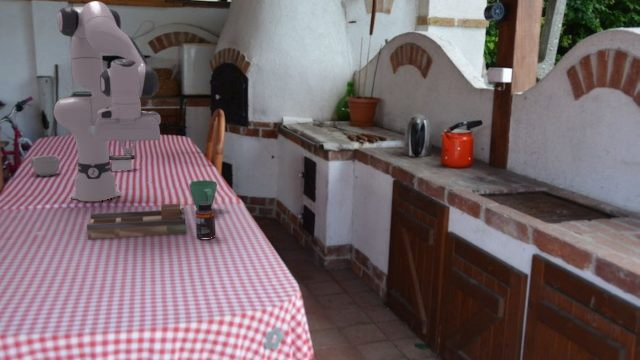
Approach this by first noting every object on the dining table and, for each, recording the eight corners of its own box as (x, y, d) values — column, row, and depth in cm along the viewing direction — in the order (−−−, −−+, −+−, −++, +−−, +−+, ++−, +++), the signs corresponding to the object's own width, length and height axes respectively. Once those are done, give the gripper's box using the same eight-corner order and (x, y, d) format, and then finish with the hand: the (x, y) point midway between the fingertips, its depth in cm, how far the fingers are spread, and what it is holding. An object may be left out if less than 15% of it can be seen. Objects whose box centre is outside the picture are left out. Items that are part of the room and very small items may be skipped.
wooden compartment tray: (91, 226, 210) (91, 212, 209) (184, 221, 217) (183, 207, 216) (87, 238, 197) (86, 223, 196) (186, 233, 205) (185, 218, 204)
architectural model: (149, 175, 288) (148, 153, 286) (91, 177, 282) (90, 155, 280) (150, 166, 307) (149, 146, 305) (95, 168, 301) (94, 147, 299)
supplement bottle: (213, 233, 205) (212, 199, 202) (217, 239, 199) (216, 204, 197) (194, 235, 203) (193, 201, 200) (198, 241, 197) (197, 206, 195)
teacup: (65, 174, 285) (63, 157, 283) (43, 178, 276) (42, 160, 274) (45, 170, 292) (44, 153, 290) (24, 174, 283) (22, 157, 281)
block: (161, 217, 211) (161, 204, 210) (180, 216, 212) (179, 203, 211) (161, 222, 205) (161, 209, 204) (180, 221, 207) (180, 208, 206)
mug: (187, 207, 234) (186, 181, 232) (213, 205, 238) (212, 179, 236) (197, 218, 221) (196, 190, 219) (224, 215, 225) (224, 188, 223)
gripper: (160, 109, 207) (161, 151, 210) (94, 110, 202) (96, 152, 205) (160, 112, 201) (161, 155, 204) (92, 113, 196) (95, 156, 199)
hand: (128, 154), depth 205 cm, fingers closed
